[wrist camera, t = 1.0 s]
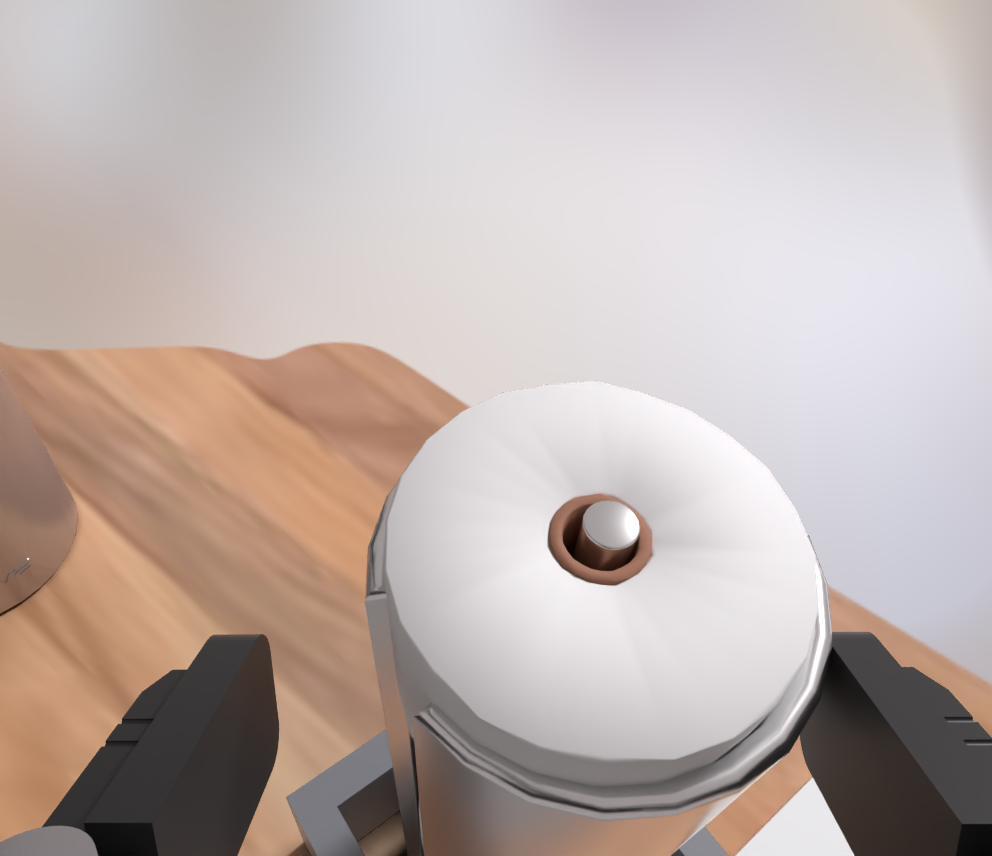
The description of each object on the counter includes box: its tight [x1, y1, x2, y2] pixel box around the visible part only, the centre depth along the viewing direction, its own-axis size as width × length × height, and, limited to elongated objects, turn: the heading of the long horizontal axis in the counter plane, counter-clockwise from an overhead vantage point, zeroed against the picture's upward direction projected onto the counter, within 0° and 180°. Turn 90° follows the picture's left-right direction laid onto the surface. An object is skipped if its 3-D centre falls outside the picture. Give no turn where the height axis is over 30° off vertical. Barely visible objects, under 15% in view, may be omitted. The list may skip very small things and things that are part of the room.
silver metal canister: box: [365, 381, 833, 856], centre depth 19 cm, size 6×6×25 cm
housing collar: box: [286, 730, 728, 856], centre depth 26 cm, size 11×11×7 cm
